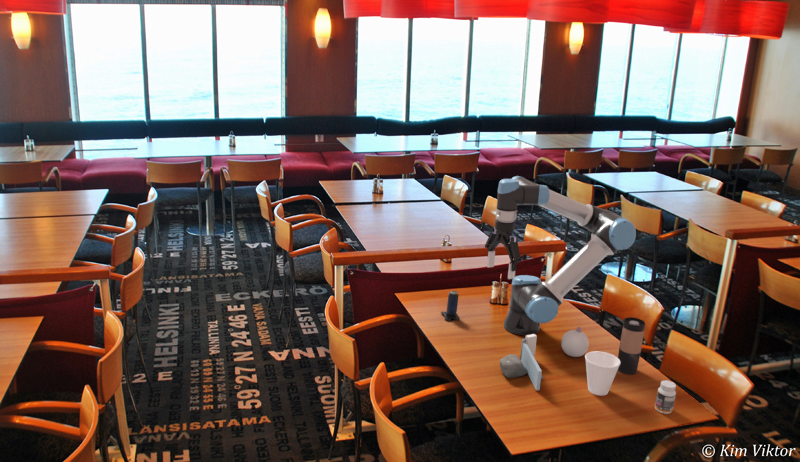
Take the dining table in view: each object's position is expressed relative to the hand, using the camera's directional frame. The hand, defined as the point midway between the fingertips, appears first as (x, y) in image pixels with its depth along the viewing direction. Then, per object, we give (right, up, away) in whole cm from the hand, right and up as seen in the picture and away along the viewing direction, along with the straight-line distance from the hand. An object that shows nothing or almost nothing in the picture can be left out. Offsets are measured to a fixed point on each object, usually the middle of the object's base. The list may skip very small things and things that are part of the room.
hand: (500, 272), depth 244 cm
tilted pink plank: (+10, -33, -2) cm, 35 cm away
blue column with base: (-17, -22, +32) cm, 43 cm away
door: (+9, -36, -14) cm, 40 cm away
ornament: (+29, -33, +3) cm, 44 cm away
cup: (+31, -40, -22) cm, 55 cm away
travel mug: (+46, -36, -7) cm, 60 cm away
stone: (+3, -36, -13) cm, 39 cm away
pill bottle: (+50, -44, -32) cm, 74 cm away
